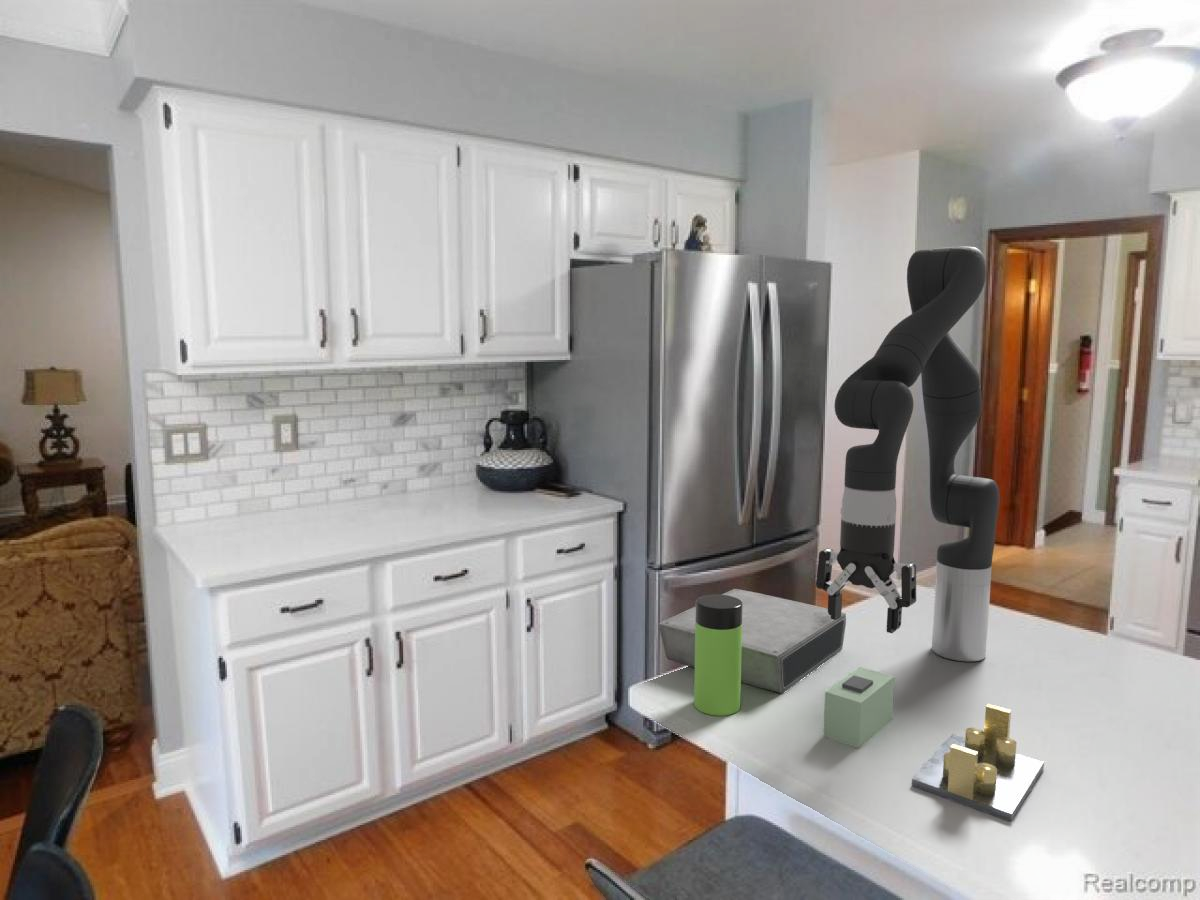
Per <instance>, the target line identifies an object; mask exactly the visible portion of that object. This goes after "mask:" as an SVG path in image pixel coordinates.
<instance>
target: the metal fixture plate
mask: <svg viewBox="0 0 1200 900" xmlns="http://www.w3.org/2000/svg"><path fill="white" fill-rule="evenodd" d="M1011 716H1012V709H1008V708H1005V707H1000V706H998V705H993V704H990V703H987V705H985V717H984V728H983V729H984V730H982V729H980V728H977V727H968V728H966V729H965V737H964V736H961V735H958V734H954V733H952V734H951V735H950V736H949V737H948V738H947V739H946V740H945V741H944V743H942V745H941V746H940V747H939V748H938V749H937V750H936V752H935V753H933V755H931V757H930V758H929V759H927V762H925V764H924V765H923V766H921V768H920V769H919V770H918V771H917V772H916V774H915V775H914V776H913V777H912V778H911V787H914V788H917V789H919V790H922V791H925V792H928V793H930V794H933V795H935V796H939V797H941V798H945V799H947V800H949V801H954V802H955V803H958V804H962V805H963V806H967V807H969V808H971V809H972V808H973V809H975V810H979V811H981V812H984V813H985V814H989V815H991V816H995V817H998V818H1001V819H1003V820H1006V821H1009V822H1012V821H1013V819H1014V818H1015V816H1016V815H1017V813H1018V811H1019V810H1020V808H1021V806H1022V805H1023V803H1024V801H1025V800H1026V799H1027V797H1028V795H1029V793H1030V792H1031V790H1032V788H1033V787H1034V785H1035V783H1036V782H1037V780H1039V779H1038V778H1039V777H1040V776H1041V773H1042V772H1043V771H1044V766H1045V761H1042V760H1038V759H1035V758H1032V757H1029V756H1026V755H1023V754H1020V753H1016V752H1017V741H1016V740H1014V739H1013V738H1011V737H1010V732H1011V718H1012V717H1011Z"/></svg>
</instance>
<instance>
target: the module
mask: <svg viewBox="0 0 1200 900" xmlns="http://www.w3.org/2000/svg"><path fill="white" fill-rule="evenodd" d="M894 686H895V676H894V675H890V674H888V673H884V672H881V671H880V672H879V671H877V670H876V671H875V670H872V669H869V668H865V667H862V666H859V667H857V668H856V669H854V670H853V671H852V672H850V673H849V674H847V675H846V676H845V677H843V678H842V679H841V680H839V681H838V682H837V683H835V684H834V685H832V686H831V687H829V689H827V690H826V691H825V692H824V712H823V735H822V736H823V737H826V738H829V739H831V740H835V741H837V742H840V743H843V744H846V745H848V746H852V747H854V748H857V749H861V748H862V746H864V744H866V743H867V742H868V741H869V740H870V739H871V738H873V736H875V735H876V734H877V733H878V732H879V731H880V730H881V729H882V728H884V726H886V725H887V724H888V723H889V722H890V721H891V720H892V719H893V710H894V708H893V704H894V689H895V688H894Z"/></svg>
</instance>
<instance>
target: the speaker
mask: <svg viewBox="0 0 1200 900" xmlns="http://www.w3.org/2000/svg"><path fill="white" fill-rule="evenodd" d="M721 595H728V596H732V597H735V598H738V599H739V600H741V601H742V603H743V609H742V651H741V683H743V684H747V685H749V684H750V685H749V686H753V687H756V686H757V688H760V687H761V688H760V689H763V688H764V689H763V690H767V689H768V690H767V691H770V690H771V692H774V691H775V693H777V692H778V693H779V694H781V693H784V692H785V691H787V690H788V689H790V688H791V687H792V686H794V685H795V684H796V683H798V682H799V681H800V680H801V679H803V678H804V677H806V676H807V675H808V674H810V673H811V672H812V671H814V670H815V669H816V670H818V669H819V668H820V667H819V666H820V665H822V664H823V663H825V662H826V661H827V660H829V659H830V658H831V659H833V658H834V657H836V656H837V655H838V654H839V653H841V652H842V651H843V645H844V639H845V633H846V632H845V631H846V626H847V614H846V612H843V611H841V617H840V618H839V619H837V620H833V619H831V615H829V614H828V607H827V608H826V607H823V606H819V605H814V604H808V603H805V602H800V601H796V600H791V599H786V598H782V597H778V596H773V595H768V594H764V593H760V592H756V591H755V592H753V591H749V590H743V589H740V588H738V589H737V588H733V589H731V590H729V591H726V592H724V593H722V594H721ZM695 616H696V605H695V606H693V607H691V608H689V609H687V610H684V611H682V612H680V613H678V614H676V615H674V616H671V617H669V618H667V619H665V620H662V621H660V623H658V629H659V632H660V636H661V640H662V645H663V646H662V647H663V649H664V653H665V657H666V658H667V660H669V661H672V662H674V663H678V664H681V665H685V666H688V667H690V668H694V669H695ZM841 650H842V651H841ZM840 651H841V652H840ZM837 653H838V654H837ZM836 654H837V655H836ZM833 656H834V657H833ZM832 657H833V658H832ZM831 659H830V660H831ZM830 660H829V661H830ZM827 662H828V661H827ZM827 662H826V663H827ZM826 663H825V664H826ZM823 665H824V664H823ZM823 665H822V666H823ZM818 667H819V668H818ZM817 668H818V669H817ZM816 670H815V671H816ZM815 671H814V672H815ZM812 673H813V672H812ZM812 673H811V674H812ZM811 674H810V675H811ZM808 676H809V675H808ZM808 676H807V677H808ZM807 677H806V678H807ZM804 679H805V678H804ZM804 679H803V680H804ZM800 682H801V681H800ZM800 682H799V683H800ZM799 683H798V684H799ZM796 685H797V684H796ZM796 685H795V686H796ZM795 686H794V687H795ZM792 688H793V687H792ZM792 688H791V689H792ZM791 689H790V690H791ZM788 691H789V690H788ZM788 691H787V692H788ZM785 693H786V692H785ZM785 693H784V694H785Z"/></svg>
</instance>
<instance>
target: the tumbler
mask: <svg viewBox="0 0 1200 900" xmlns="http://www.w3.org/2000/svg"><path fill="white" fill-rule="evenodd" d="M695 606H696V616H695V668H694V683H693V684H694V685H693V688H694V689H693V690H694V691H693V693H694V694H693V695H694V696H693V698H694V699H693V705H694V707H695V708H696V709H697V710H698V711H699V712H701V713H704V714H707V715H711V716H717V717H720V716H721V717H724V716H730V715H733V714H735V713H737V712H738V711H739V710H740V708H741V691H742V688H741V686H742V685H741V684H742V682H741V651H742V609H743V603H742V601H741V600H739V599H738V598H735V597H732V596H728V595H722V594H718V593H717V594H707V595H706V594H705V595H702V596H699V597H697V599H696V600H695Z"/></svg>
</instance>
